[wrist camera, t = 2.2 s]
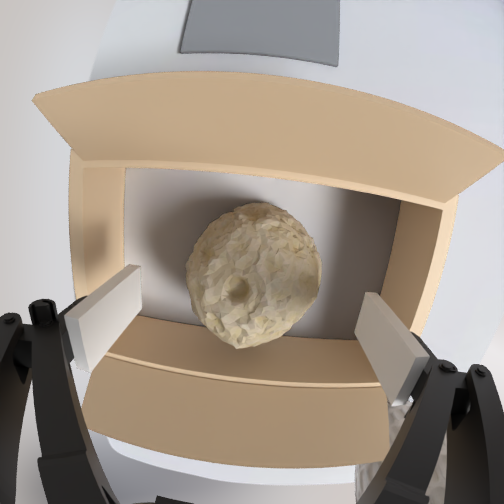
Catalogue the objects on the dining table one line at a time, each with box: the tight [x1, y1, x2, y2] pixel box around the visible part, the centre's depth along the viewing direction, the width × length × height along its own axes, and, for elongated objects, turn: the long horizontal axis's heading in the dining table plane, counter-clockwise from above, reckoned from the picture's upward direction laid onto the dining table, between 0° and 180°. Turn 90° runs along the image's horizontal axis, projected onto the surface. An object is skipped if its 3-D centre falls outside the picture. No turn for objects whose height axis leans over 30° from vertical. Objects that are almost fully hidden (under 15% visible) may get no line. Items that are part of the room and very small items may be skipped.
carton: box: [32, 71, 504, 468], centre depth 16 cm, size 20×24×11 cm
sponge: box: [185, 202, 322, 349], centre depth 19 cm, size 9×10×10 cm
